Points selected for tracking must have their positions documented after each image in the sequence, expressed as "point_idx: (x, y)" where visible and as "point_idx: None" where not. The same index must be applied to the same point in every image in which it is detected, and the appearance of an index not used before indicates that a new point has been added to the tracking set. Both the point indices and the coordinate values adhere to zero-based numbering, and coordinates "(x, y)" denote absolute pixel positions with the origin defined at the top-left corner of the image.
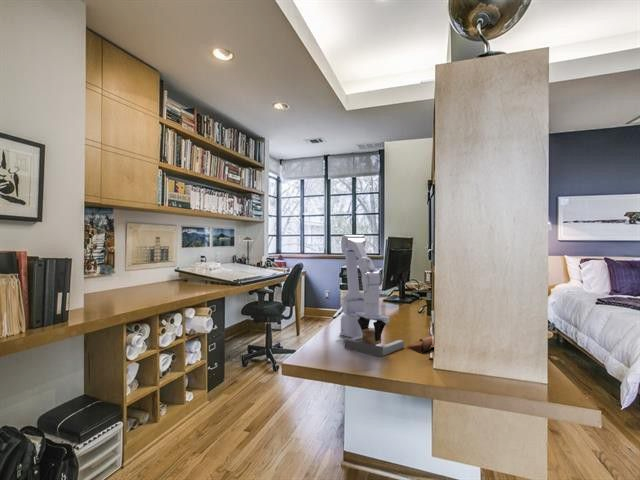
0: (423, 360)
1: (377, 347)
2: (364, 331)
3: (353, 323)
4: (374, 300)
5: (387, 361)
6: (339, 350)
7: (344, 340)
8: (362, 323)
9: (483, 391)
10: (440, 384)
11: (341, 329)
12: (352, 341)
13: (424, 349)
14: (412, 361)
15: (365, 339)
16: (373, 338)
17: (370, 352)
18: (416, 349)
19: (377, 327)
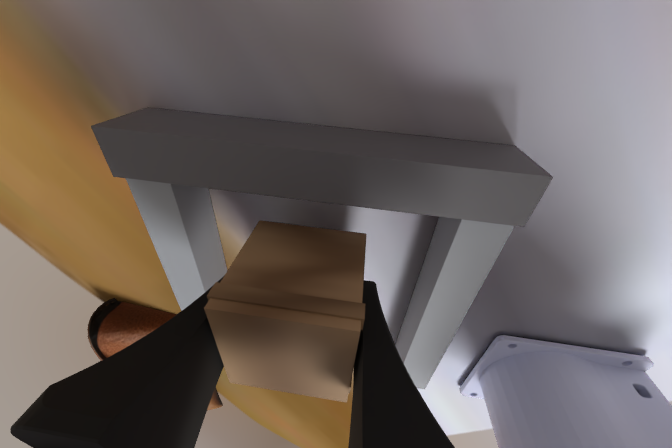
0: (13, 219)
1: (122, 138)
2: (330, 311)
3: None
4: None
5: (41, 57)
6: (530, 7)
7: (544, 170)
8: (362, 421)
9: None
10: None
11: (657, 397)
12: (428, 161)
13: (95, 315)
14: (7, 172)
15: (331, 252)
16: (235, 259)
17: (221, 120)
18: (143, 314)
19: (108, 362)
